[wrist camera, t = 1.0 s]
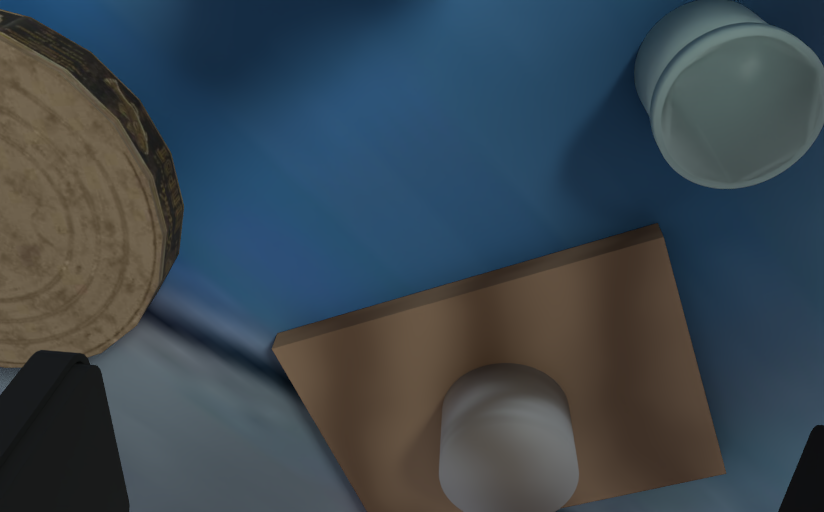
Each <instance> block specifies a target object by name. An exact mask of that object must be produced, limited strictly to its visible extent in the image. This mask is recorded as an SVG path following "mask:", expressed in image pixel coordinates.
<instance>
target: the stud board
mask: <svg viewBox="0 0 824 512" xmlns="http://www.w3.org/2000/svg"><path fill="white" fill-rule="evenodd" d="M272 350H273V352H274V354H275V355H276V357H277V359H278V360H279V362H280V364H281V365H282V367H283V369H284V371H285V372H286V374H287V376H288V377H289V379H290V381H291V383H292V384H293V386H294V388H295V389H296V391H297V393H298V395H299V396H300V398H301V400H302V401H303V403H304V405H305V406H306V408H307V410H308V412H309V413H310V415H311V417H312V418H313V420H314V422H315V424H316V425H317V427H318V429H319V430H320V432H321V434H322V436H323V437H324V439H325V441H326V442H327V444H328V446H329V447H330V449H331V451H332V453H333V454H334V456H335V458H336V459H337V461H338V463H339V465H340V466H341V468H342V470H343V471H344V473H345V475H346V476H347V478H348V480H349V482H350V483H351V485H352V487H353V488H354V490H355V492H356V494H357V495H358V497H359V499H360V500H361V502H362V504H363V506H364V507H365V509H366V511H367V512H555V511H557V510H558V509H560V508H565V507H569V506H574V505H579V504H584V503H588V502H593V501H598V500H603V499H607V498H612V497H617V496H622V495H627V494H631V493H636V492H641V491H646V490H650V489H655V488H660V487H665V486H669V485H674V484H679V483H684V482H689V481H693V480H698V479H703V478H708V477H712V476H717V475H722V474H726V470H725V467H724V463H723V459H722V455H721V452H720V448H719V444H718V440H717V436H716V433H715V429H714V425H713V421H712V418H711V414H710V410H709V406H708V403H707V399H706V395H705V391H704V387H703V384H702V380H701V376H700V372H699V369H698V365H697V361H696V357H695V354H694V350H693V346H692V342H691V338H690V335H689V331H688V327H687V323H686V320H685V316H684V312H683V308H682V305H681V301H680V297H679V293H678V289H677V286H676V282H675V278H674V274H673V271H672V267H671V263H670V259H669V256H668V252H667V248H666V244H665V240H664V237H663V234H662V232H661V230H660V227H659V225H658V223H656V224H653V225H649V226H646V227H642V228H639V229H635V230H632V231H628V232H625V233H622V234H618V235H615V236H611V237H608V238H604V239H601V240H597V241H594V242H591V243H587V244H584V245H580V246H577V247H573V248H570V249H566V250H563V251H560V252H556V253H553V254H549V255H546V256H542V257H539V258H536V259H532V260H529V261H525V262H522V263H518V264H515V265H511V266H508V267H505V268H501V269H498V270H494V271H491V272H487V273H484V274H480V275H477V276H474V277H470V278H467V279H463V280H460V281H456V282H453V283H449V284H446V285H443V286H439V287H436V288H432V289H429V290H425V291H422V292H418V293H415V294H412V295H408V296H405V297H401V298H398V299H394V300H391V301H388V302H384V303H381V304H377V305H374V306H370V307H367V308H363V309H360V310H357V311H353V312H350V313H346V314H343V315H339V316H336V317H332V318H329V319H326V320H322V321H319V322H315V323H312V324H308V325H305V326H301V327H298V328H295V329H291V330H288V331H284V332H281V333H277V336H276V339H275V341H274V344H273V347H272Z"/></svg>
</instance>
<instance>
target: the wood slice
mask: <svg viewBox="0 0 824 512" xmlns="http://www.w3.org/2000/svg"><path fill="white" fill-rule="evenodd" d="M183 211H184V204H183V200H182V196H181V192H180V187H179V183H178V179H177V175H176V171H175V167H174V163H173V158H172V154H171V152H170V150H169V149H168V147H167V145H166V144H165V142H164V140H163V138H162V137H161V135H160V133H159V132H158V130H157V128H156V127H155V125H154V123H153V121H152V120H151V118H150V116H149V115H148V113H147V111H146V110H145V108H144V106H143V104H142V103H141V101H140V100H139V99H138V98H137V97H136V96H135V95H134V94H133V93H132V92H131V91H130V90H129V89H128V88H127V87H126V86H125V85H124V84H123V83H122V82H121V81H120V80H119V79H118V78H117V77H116V76H115V75H114V74H113V73H112V72H111V71H110V70H109V69H108V68H107V67H106V66H105V65H104V64H103V63H102V62H101V61H100V60H99V59H98V58H97V57H96V56H95V55H94V54H93V53H92V52H90V51H88V50H87V49H85V48H83V47H81V46H80V45H78V44H76V43H75V42H73V41H71V40H69V39H68V38H66V37H64V36H62V35H61V34H59V33H57V32H56V31H54V30H52V29H50V28H49V27H47V26H45V25H43V24H42V23H40V22H38V21H37V20H35V19H33V18H31V17H28V16H24V15H20V14H16V13H12V12H9V11H5V10H1V9H0V367H4V368H17V367H23V366H24V365H25V363H26V362H27V361H28V360H29V358H30V357H31V356H32V355H33V354H34V353H35V352H37V351H40V350H49V351H61V352H73V353H82V354H85V356H86V357H90V356H93V355H96V354H100V353H102V352H103V351H105V350H106V349H107V348H108V347H110V346H111V345H112V344H114V343H115V342H116V341H117V340H119V339H120V338H121V337H123V336H124V335H125V334H126V333H128V332H129V331H130V330H132V329H133V328H134V327H135V326H137V324H138V322H139V321H140V319H141V318H142V316H143V315H144V313H145V311H146V310H147V308H148V307H149V305H150V303H151V302H152V300H153V299H154V297H155V296H156V294H157V292H158V291H159V289H160V287H161V285H162V283H163V282H164V280H165V278H166V276H167V274H168V273H169V271H170V269H171V267H172V265H173V263H174V262H175V260H176V258H177V256H178V254H179V248H180V239H181V230H182V221H183Z"/></svg>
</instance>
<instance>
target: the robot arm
mask: <svg viewBox="0 0 824 512" xmlns="http://www.w3.org/2000/svg"><path fill="white" fill-rule="evenodd" d="M0 512H129V499H128V495H127V490H126V485H125V481H124V476H123V471H122V467H121V462H120V457H119V453H118V448H117V443H116V439H115V434H114V429H113V425H112V420H111V415H110V411H109V406H108V401H107V397H106V392H105V387H104V383H103V378H102V374H101V371H100V368H99V367H98V366H96V365H90V363H89V360H88V358H87V357H86V356H85V354H82V353H73V352H61V351H49V350H40V351H37V352H35V353H34V354H33V355H32V356H31V357H30V358H29V360H28V361H27V362H26V363H25V365H24V366H23V367H22V368H21V370H20V371H19V372H18V373H17V375H16V376H15V377H14V379H13V380H12V381H11V382H10V384H9V385H8V386H7V387H6V389H5V390H4V391H3V392H2V394H1V395H0ZM778 512H824V425H817V426H815V427H814V428H813V430H812V431H811V433H810V436H809V438H808V441H807V443H806V445H805V448H804V450H803V453H802V455H801V458H800V460H799V462H798V465H797V467H796V470H795V472H794V475H793V477H792V479H791V482H790V484H789V487H788V489H787V492H786V494H785V497H784V499H783V501H782V504H781V506H780V509H779V511H778Z"/></svg>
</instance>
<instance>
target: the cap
mask: <svg viewBox="0 0 824 512" xmlns="http://www.w3.org/2000/svg"><path fill="white" fill-rule="evenodd" d="M634 82H635V87H636V91H637V94H638V97H639V98H640V100H641V102H642V104H643V106H644V108H645V110H646V112H647V114H648V115H649V117H650V124H651V130H652V133H653V136H654V139H655V141H656V143H657V145H658V147H659V149H660V151H661V153H662V155H663V157H664V158H665V160H666V161H667V162H668V164H669V165H670V166H671V167H672V168H673V169H674V170H675V171H676V172H677V173H679V174H680V175H681V176H683V177H684V178H686V179H688V180H690V181H691V182H694V183H696V184H699V185H702V186H706V187H710V188H718V189H735V188H743V187H748V186H752V185H756V184H758V183H761V182H764V181H766V180H769V179H771V178H773V177H775V176H777V175H778V174H780V173H782V172H783V171H785V170H786V169H788V168H789V167H790V166H792V165H793V164H794V163H795V162H797V161H798V160H799V159H800V158H801V157H802V156H803V155H804V154H805V153H806V151H807V150H808V149H809V148H810V147H811V145H812V144H813V142H814V141H815V140H816V138H817V136H818V135H819V133H820V131H821V129H822V127H823V124H824V67H823V65H822V63H821V61H820V60H819V58H818V57H817V55H816V54H815V53H814V52H813V51H812V50H811V49H810V48H809V47H808V46H807V45H806V44H804V43H803V42H802V41H801V40H799V39H798V38H797V37H795V36H794V35H792V34H791V33H789V32H787V31H786V30H784V29H781V28H779V27H776V26H773V25H769V24H768V23H766V22H765V21H764V20H762V19H761V18H760V17H759V16H757V15H756V14H755V13H754V12H752V11H751V10H750V9H748V8H747V7H745V6H743V5H741V4H739V3H737V2H734V1H730V0H697V1H693V2H690V3H687V4H685V5H682V6H680V7H678V8H676V9H674V10H673V11H671V12H670V13H668V14H667V15H665V16H664V17H663V18H662V19H661V20H659V21H658V22H657V23H656V24H655V25H654V27H653V28H652V29H651V30H650V31H649V33H648V34H647V36H646V37H645V38H644V40H643V42H642V44H641V46H640V48H639V51H638V54H637V57H636V61H635V68H634Z"/></svg>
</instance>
